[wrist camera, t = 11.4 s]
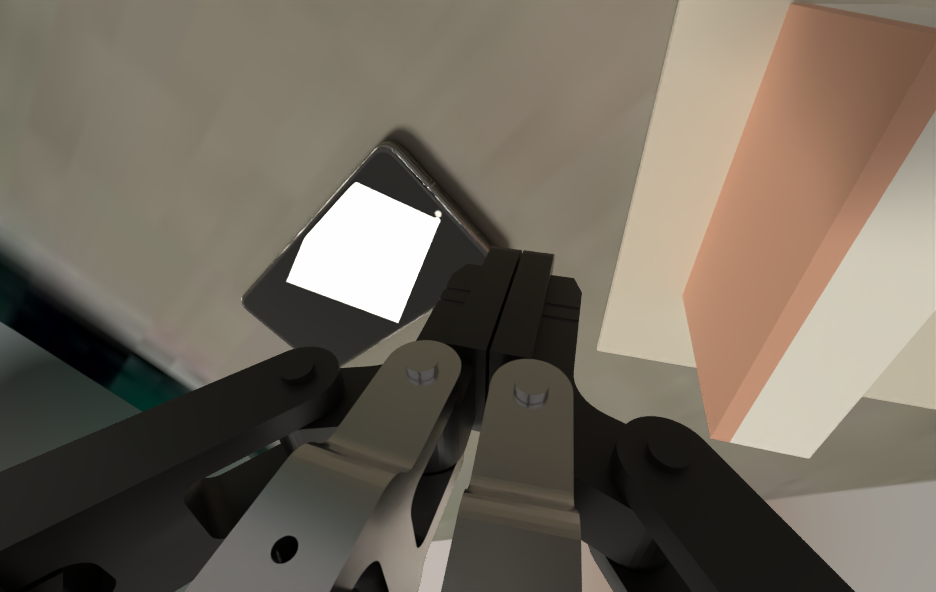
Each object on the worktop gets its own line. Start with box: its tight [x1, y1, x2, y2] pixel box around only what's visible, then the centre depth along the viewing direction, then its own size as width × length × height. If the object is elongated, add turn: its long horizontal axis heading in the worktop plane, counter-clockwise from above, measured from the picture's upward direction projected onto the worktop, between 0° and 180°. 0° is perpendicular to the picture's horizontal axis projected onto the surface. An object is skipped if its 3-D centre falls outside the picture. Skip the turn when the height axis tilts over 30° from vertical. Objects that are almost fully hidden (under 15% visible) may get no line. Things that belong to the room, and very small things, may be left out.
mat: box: [597, 0, 936, 409], centre depth 14 cm, size 17×14×1 cm
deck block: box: [682, 4, 936, 459], centre depth 12 cm, size 10×2×7 cm, turn 1°
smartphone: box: [242, 141, 493, 367], centre depth 23 cm, size 7×1×16 cm
